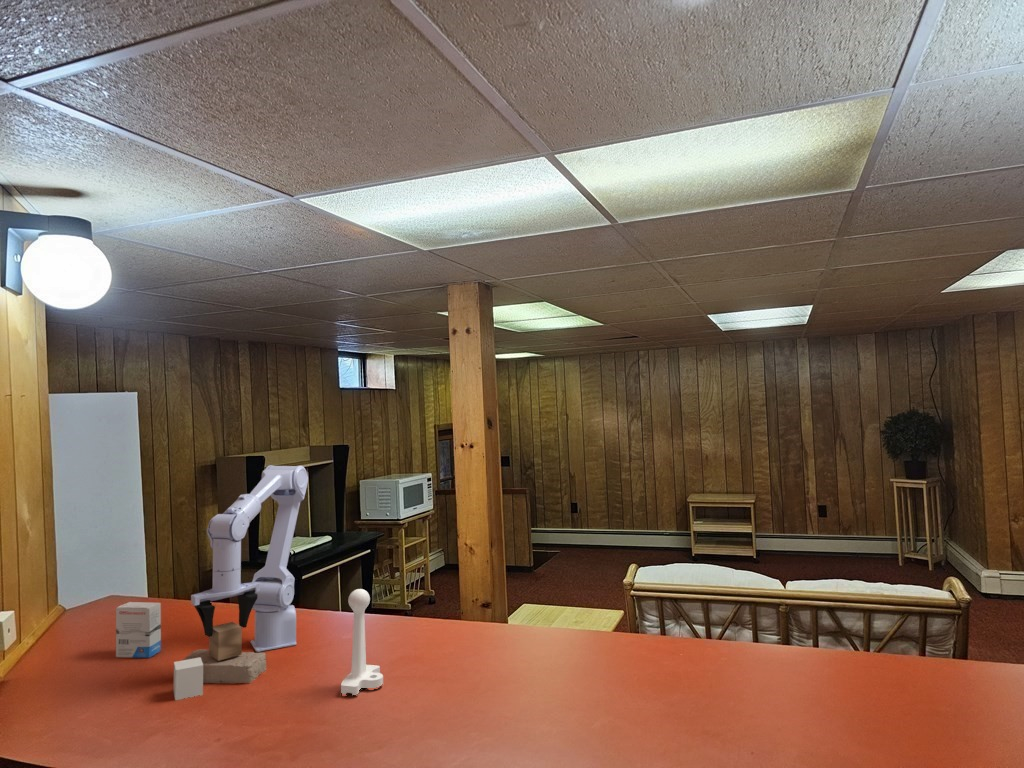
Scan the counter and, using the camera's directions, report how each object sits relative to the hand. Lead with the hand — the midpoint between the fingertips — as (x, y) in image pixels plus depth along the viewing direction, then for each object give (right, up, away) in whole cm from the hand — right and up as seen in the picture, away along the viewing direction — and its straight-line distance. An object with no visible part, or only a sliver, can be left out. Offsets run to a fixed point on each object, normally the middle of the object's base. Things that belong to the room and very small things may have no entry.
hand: (226, 630), depth 145 cm
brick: (0, -10, -2) cm, 10 cm away
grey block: (-3, -9, -11) cm, 14 cm away
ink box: (-26, -10, +11) cm, 30 cm away
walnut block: (0, -5, -1) cm, 5 cm away
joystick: (+32, -9, -8) cm, 34 cm away
